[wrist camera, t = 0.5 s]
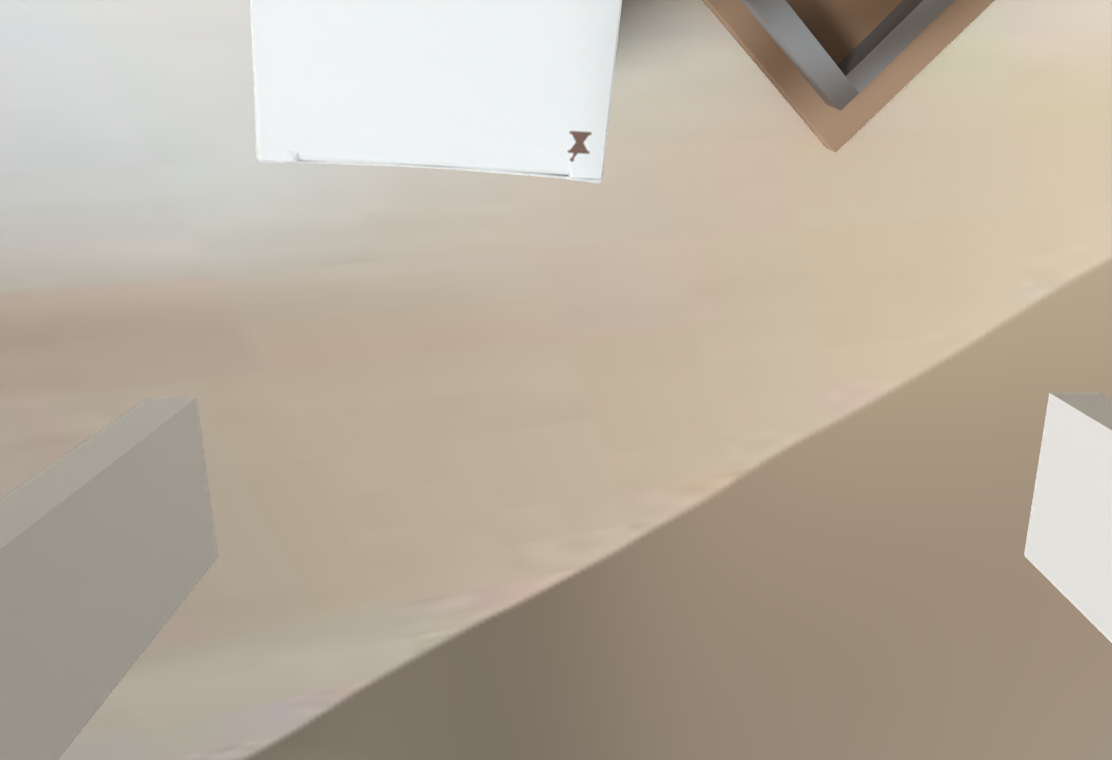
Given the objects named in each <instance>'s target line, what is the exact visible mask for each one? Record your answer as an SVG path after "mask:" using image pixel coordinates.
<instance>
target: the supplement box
mask: <svg viewBox="0 0 1112 760" xmlns="http://www.w3.org/2000/svg"><path fill="white" fill-rule="evenodd" d="M249 1H250V25H251V49H252V72H253V95H254V119H255V144H256V156H257V159H258V160H259V161H261V162H283V163H323V164H348V165H367V166H396V167H413V168H431V169H448V170H464V171H477V172H490V173H503V174H516V175H528V176H540V177H551V178H560V179H569V180H577V181H585V182H590V183H600V182H601V180H602V176H603V167H604V159H605V150H606V141H607V132H608V123H609V114H610V106H611V97H612V88H613V79H614V70H615V61H616V52H617V43H618V34H619V25H620V16H621V7H622V0H249Z"/></svg>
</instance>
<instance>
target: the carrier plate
mask: <svg viewBox="0 0 1112 760" xmlns="http://www.w3.org/2000/svg"><path fill="white" fill-rule="evenodd" d="M703 1H704V2H705V4H706V5H707V6H708V7H709V8H710V9H711V11H712V12H713V13H714V14H715V15H716V17H717V18H718V19H719V20H720V21H721V23H722V24H723V25H724V26H725V27H726V29H727V30H728V31H729V32H730V33H731V35H732V36H733V37H734V38H735V39H736V40H737V42H738V43H739V44H740V45H741V46H742V48H743V49H744V50H745V51H746V52H747V54H748V55H749V56H750V57H751V58H752V60H753V61H754V62H755V63H756V64H757V66H758V67H759V68H760V69H761V70H762V71H763V73H764V74H765V75H766V76H767V77H768V79H769V80H770V81H771V82H772V83H773V85H774V86H775V87H776V88H777V89H778V91H779V92H780V93H781V94H782V95H783V97H784V98H785V99H786V100H787V101H788V102H789V104H790V105H791V106H792V107H793V108H794V110H795V111H796V112H797V113H798V114H799V116H800V117H801V118H802V119H803V120H804V122H805V123H806V124H807V125H808V126H809V128H810V129H811V130H812V131H813V132H814V134H815V135H816V136H817V137H818V138H819V139H820V141H821V142H822V143H823V144H824V145H825V147H826V148H828V149H830V150H832V151H834V152H837V151H838V150H839V149H840V148H841V147H842V146H843V145H844V144H845V143H846V142H847V141H848V140H849V139H850V138H851V137H852V136H853V135H854V134H855V133H856V132H857V131H858V130H860V129H861V128H862V127H863V126H864V125H865V124H866V123H867V122H868V121H869V120H870V119H871V118H872V117H873V116H874V115H875V114H876V113H877V112H878V111H879V110H880V109H881V108H882V107H884V106H885V105H886V104H887V103H888V102H889V101H890V100H891V99H892V98H893V97H894V96H895V95H896V94H897V93H898V92H899V91H900V90H901V89H902V88H903V87H904V86H905V85H907V84H908V83H909V82H910V81H911V80H912V79H913V78H914V77H915V76H916V75H917V74H918V73H919V72H920V71H921V70H922V69H923V68H924V67H925V66H926V65H927V64H928V63H929V62H931V61H932V60H933V59H934V58H935V57H936V56H937V55H938V54H939V53H940V52H941V51H942V50H943V49H944V48H945V47H946V46H947V45H948V44H949V43H950V42H951V41H952V40H954V39H955V38H956V37H957V36H958V35H959V34H960V33H961V32H962V31H963V30H964V29H965V28H966V27H967V26H968V25H969V24H970V23H971V22H972V21H973V20H974V19H975V18H977V17H978V16H979V15H980V14H981V13H982V12H983V11H984V10H985V9H986V8H987V7H988V6H989V5H990V4H991V3H992V2H993V1H994V0H703Z"/></svg>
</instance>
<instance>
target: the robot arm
mask: <svg viewBox="0 0 1112 760" xmlns="http://www.w3.org/2000/svg"><path fill="white" fill-rule="evenodd" d="M1024 556H1025V557H1026V558H1027V559H1028V560H1029V561H1030V562H1031V563H1032V564H1033V565H1034V566H1035V567H1036V568H1037V569H1038V570H1039V571H1040V572H1041V573H1042V574H1043V575H1044V576H1045V577H1046V578H1047V579H1048V580H1049V581H1050V582H1051V583H1052V584H1053V585H1054V586H1055V587H1056V588H1057V589H1058V590H1059V591H1060V592H1061V593H1062V594H1063V595H1064V596H1065V597H1066V598H1067V599H1068V600H1069V601H1070V602H1071V603H1072V604H1073V605H1074V606H1076V608H1077V609H1078V610H1079V611H1080V612H1081V613H1082V614H1083V615H1084V616H1085V617H1086V618H1087V619H1088V620H1089V621H1090V622H1091V623H1092V624H1093V625H1094V626H1095V627H1096V628H1097V629H1098V630H1100V632H1101V633H1102V634H1103V635H1104V636H1105V637H1106V638H1107V639H1108V640H1109V641H1110V642H1111V643H1112V399H1111V398H1109V397H1108V396H1106V395H1104V394H1102V393H1049V400H1048V405H1047V412H1046V419H1045V425H1044V431H1043V437H1042V444H1041V450H1040V457H1039V463H1038V469H1037V476H1036V482H1035V489H1034V495H1033V501H1032V508H1031V514H1030V521H1029V527H1028V534H1027V540H1026V547H1025V553H1024ZM217 558H218V552H217V545H216V537H215V530H214V523H213V515H212V508H211V501H210V493H209V486H208V479H207V471H206V464H205V457H204V449H203V442H202V435H201V427H200V420H199V413H198V405H197V398H147V399H146V400H144V401H143V402H141V403H140V404H138V405H137V406H135V407H134V408H133V409H131V410H130V411H128V412H127V413H125V414H124V415H122V416H121V417H119V418H118V419H116V420H115V421H114V422H112V423H111V424H109V425H108V426H106V427H105V428H103V429H102V430H100V431H99V432H98V433H96V434H95V435H93V436H92V437H90V438H89V439H87V440H86V441H84V442H83V443H81V444H80V445H79V446H77V447H76V448H74V449H73V450H71V451H70V452H68V453H67V454H65V455H64V456H62V457H61V458H60V459H58V460H57V461H55V462H54V463H52V464H51V465H49V466H48V467H46V468H45V469H43V470H42V471H41V472H39V473H38V474H36V475H35V476H33V477H32V478H30V479H29V480H27V481H26V482H25V483H23V484H22V485H20V486H19V487H17V488H16V489H14V490H13V491H11V492H10V493H8V494H7V495H6V496H4V497H3V498H1V499H0V760H58V759H59V758H60V757H61V755H62V754H63V753H64V752H65V750H66V749H67V748H68V747H69V745H70V744H71V743H72V742H73V740H74V739H75V738H76V736H77V735H78V734H79V733H80V731H81V730H82V729H83V728H84V726H85V725H86V724H87V723H88V721H89V720H90V719H91V717H92V716H93V715H94V714H95V712H96V711H97V710H98V709H99V707H100V706H101V705H102V704H103V702H104V701H105V700H106V698H107V697H108V696H109V695H110V693H111V692H112V691H113V690H114V688H115V687H116V686H117V685H118V683H119V682H120V681H121V679H122V678H123V677H124V676H125V674H126V673H127V672H128V671H129V669H130V668H131V667H132V665H133V664H134V663H135V662H136V660H137V659H138V658H139V657H140V655H141V654H142V653H143V652H144V650H145V649H146V648H147V646H148V645H149V644H150V643H151V641H152V640H153V639H154V638H155V636H156V635H157V634H158V633H159V631H160V630H161V629H162V627H163V626H164V625H165V624H166V622H167V621H168V620H169V619H170V617H171V616H172V615H173V614H174V612H175V611H176V610H177V608H178V607H179V606H180V605H181V603H182V602H183V601H184V600H185V598H186V597H187V596H188V595H189V593H190V592H191V591H192V589H193V588H194V587H195V586H196V584H197V583H198V582H199V581H200V579H201V578H202V577H203V576H204V574H205V573H206V572H207V570H208V569H209V568H210V567H211V565H212V564H213V563H214V562H215V560H216V559H217Z"/></svg>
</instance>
